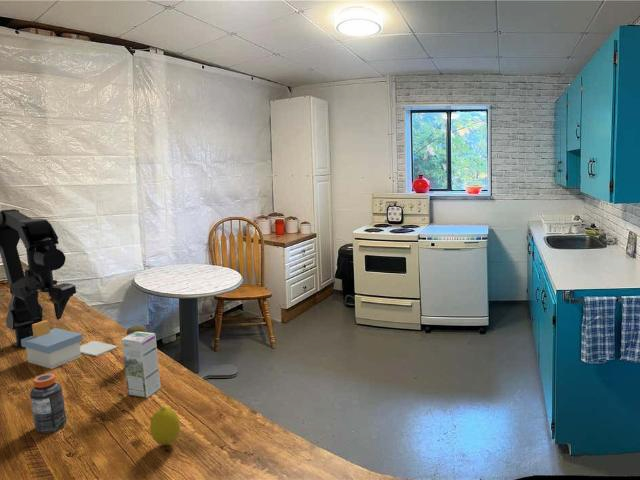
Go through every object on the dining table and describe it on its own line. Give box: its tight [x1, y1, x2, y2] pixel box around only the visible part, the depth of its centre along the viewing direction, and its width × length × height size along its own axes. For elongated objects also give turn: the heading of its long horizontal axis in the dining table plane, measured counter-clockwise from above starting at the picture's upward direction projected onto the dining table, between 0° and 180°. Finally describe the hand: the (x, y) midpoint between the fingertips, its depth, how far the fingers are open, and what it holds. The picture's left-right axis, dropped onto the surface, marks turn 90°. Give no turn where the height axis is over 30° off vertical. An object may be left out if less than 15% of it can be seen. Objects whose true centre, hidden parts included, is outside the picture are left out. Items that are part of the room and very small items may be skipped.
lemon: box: [149, 406, 181, 446], centre depth 97 cm, size 6×6×8 cm
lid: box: [21, 319, 84, 354], centre depth 141 cm, size 12×10×6 cm
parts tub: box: [25, 342, 82, 370], centre depth 142 cm, size 11×9×6 cm
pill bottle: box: [29, 373, 67, 434], centre depth 105 cm, size 6×6×11 cm
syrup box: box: [120, 331, 162, 399], centre depth 119 cm, size 6×6×14 cm
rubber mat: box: [80, 340, 119, 357], centre depth 149 cm, size 11×8×1 cm
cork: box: [126, 324, 148, 336], centre depth 136 cm, size 6×6×11 cm
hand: (46, 317), depth 142 cm, fingers open, 9 cm apart
